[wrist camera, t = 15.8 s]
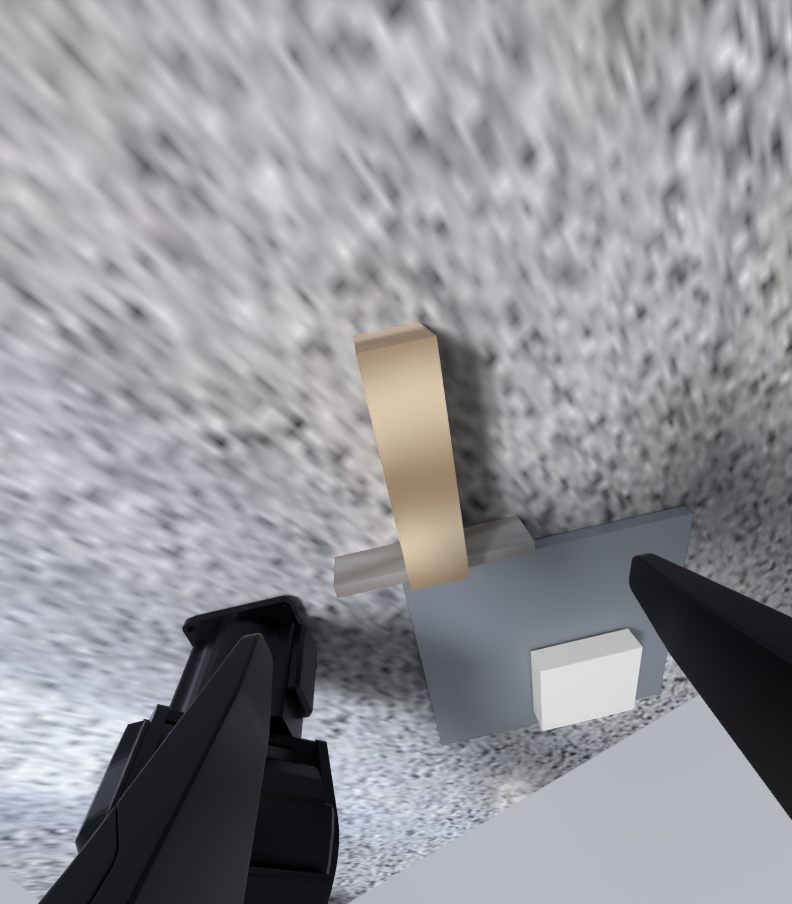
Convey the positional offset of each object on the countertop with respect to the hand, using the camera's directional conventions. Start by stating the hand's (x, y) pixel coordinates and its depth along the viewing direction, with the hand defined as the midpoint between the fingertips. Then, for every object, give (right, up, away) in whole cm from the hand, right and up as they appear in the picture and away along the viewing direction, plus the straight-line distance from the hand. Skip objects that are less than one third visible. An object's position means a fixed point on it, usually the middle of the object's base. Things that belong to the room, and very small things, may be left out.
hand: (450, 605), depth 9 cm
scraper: (-1, +4, +11) cm, 12 cm away
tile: (+12, -10, +17) cm, 23 cm away
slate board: (+9, -9, +19) cm, 23 cm away
